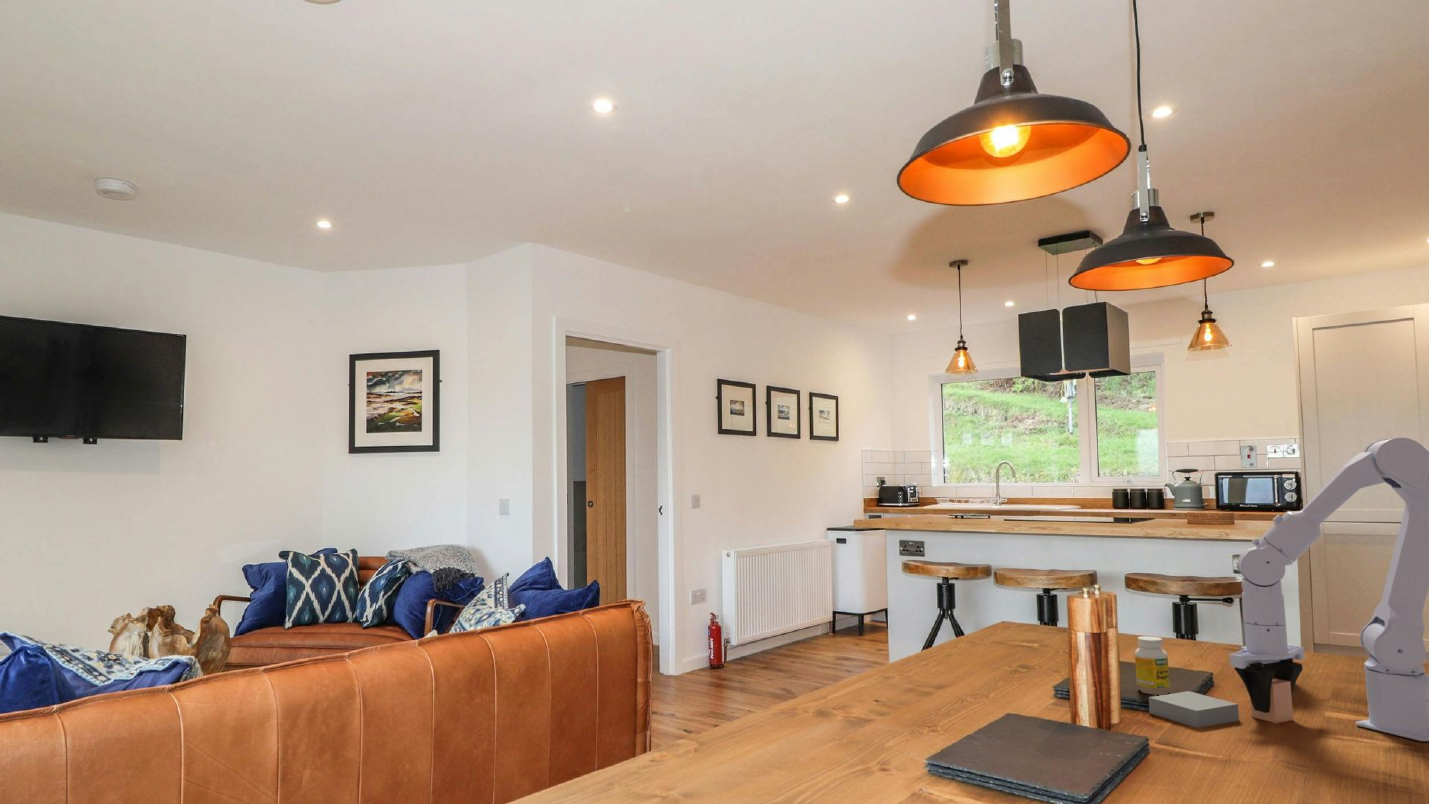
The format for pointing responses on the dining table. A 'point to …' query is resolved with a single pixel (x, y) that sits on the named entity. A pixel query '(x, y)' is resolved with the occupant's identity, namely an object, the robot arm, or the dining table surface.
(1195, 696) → the slate block
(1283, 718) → the terracotta block
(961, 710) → the dining table surface
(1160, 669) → the supplement bottle
